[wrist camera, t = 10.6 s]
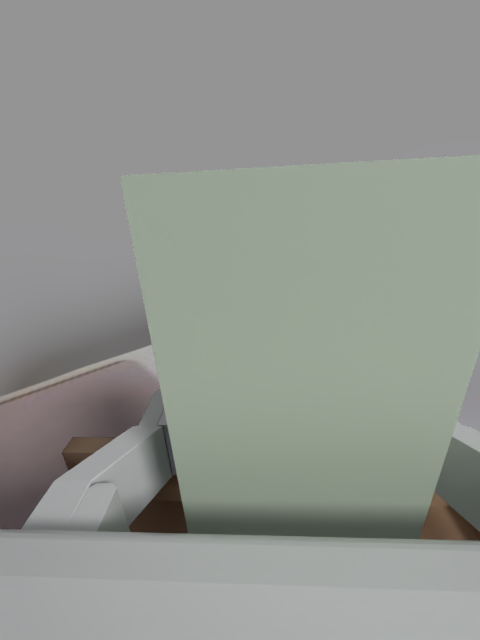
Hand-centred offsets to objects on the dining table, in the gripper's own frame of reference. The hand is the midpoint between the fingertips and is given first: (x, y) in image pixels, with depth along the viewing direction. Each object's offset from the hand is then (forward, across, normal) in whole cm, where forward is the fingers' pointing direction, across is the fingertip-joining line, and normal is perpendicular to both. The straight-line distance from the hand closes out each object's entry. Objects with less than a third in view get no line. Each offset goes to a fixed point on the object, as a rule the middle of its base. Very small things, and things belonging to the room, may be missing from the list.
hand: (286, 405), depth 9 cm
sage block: (-1, 0, +8) cm, 8 cm away
